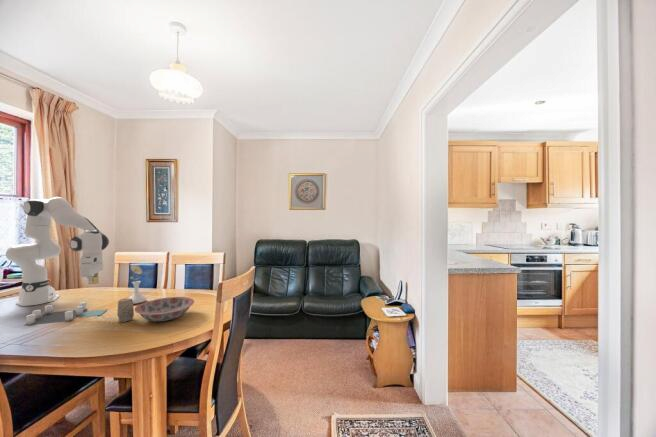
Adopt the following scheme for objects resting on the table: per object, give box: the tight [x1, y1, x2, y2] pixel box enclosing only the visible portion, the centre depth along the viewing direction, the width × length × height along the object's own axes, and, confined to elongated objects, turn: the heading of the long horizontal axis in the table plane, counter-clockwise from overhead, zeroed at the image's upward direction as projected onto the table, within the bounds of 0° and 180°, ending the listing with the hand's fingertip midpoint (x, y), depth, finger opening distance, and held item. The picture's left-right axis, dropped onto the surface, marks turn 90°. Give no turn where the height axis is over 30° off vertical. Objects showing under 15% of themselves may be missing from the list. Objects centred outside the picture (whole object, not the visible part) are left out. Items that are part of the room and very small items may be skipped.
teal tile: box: [78, 309, 108, 318], centre depth 163 cm, size 10×10×1 cm
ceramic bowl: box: [134, 296, 195, 322], centre depth 158 cm, size 29×29×8 cm
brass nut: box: [86, 275, 99, 285], centre depth 163 cm, size 5×5×4 cm
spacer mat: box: [23, 301, 89, 327], centre depth 158 cm, size 20×22×5 cm
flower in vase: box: [128, 264, 147, 305], centre depth 185 cm, size 13×11×25 cm
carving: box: [116, 297, 135, 323], centre depth 154 cm, size 6×8×12 cm
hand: (92, 281), depth 163 cm, fingers closed on brass nut, 5 cm apart
